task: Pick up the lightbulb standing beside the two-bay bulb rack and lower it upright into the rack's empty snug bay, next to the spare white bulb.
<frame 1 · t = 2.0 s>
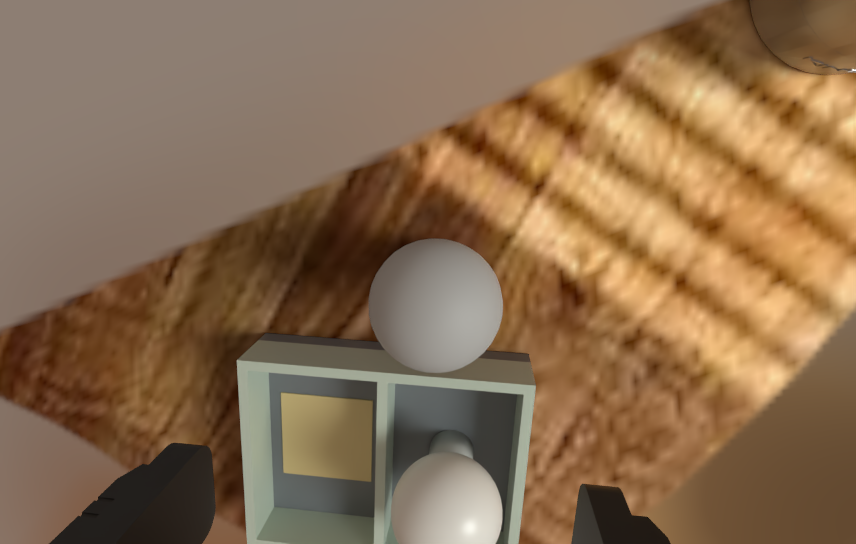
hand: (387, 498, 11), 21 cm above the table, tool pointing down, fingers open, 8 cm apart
bulb rack: (391, 432, 35), on the table
lightbulb: (446, 262, 31), on the table
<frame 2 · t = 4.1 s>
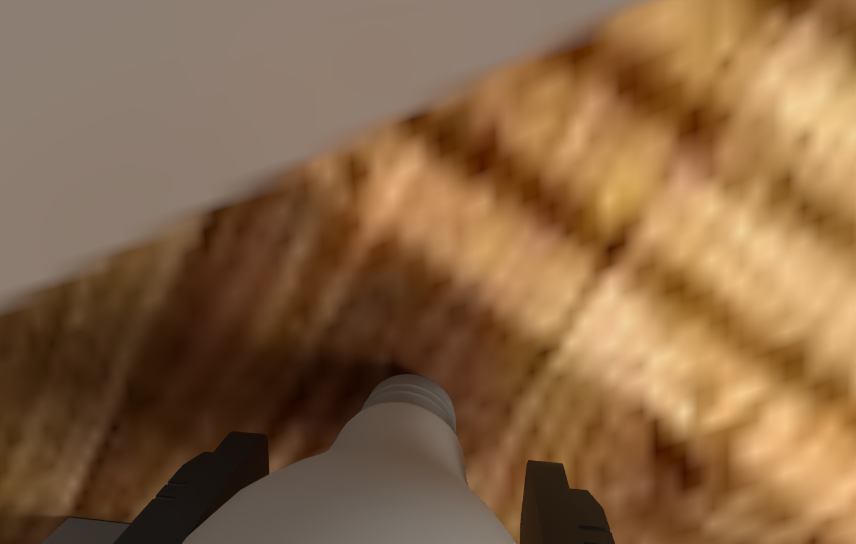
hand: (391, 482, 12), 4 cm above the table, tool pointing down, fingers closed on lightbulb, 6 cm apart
lightbulb: (414, 397, 15), on the table, touching gripper
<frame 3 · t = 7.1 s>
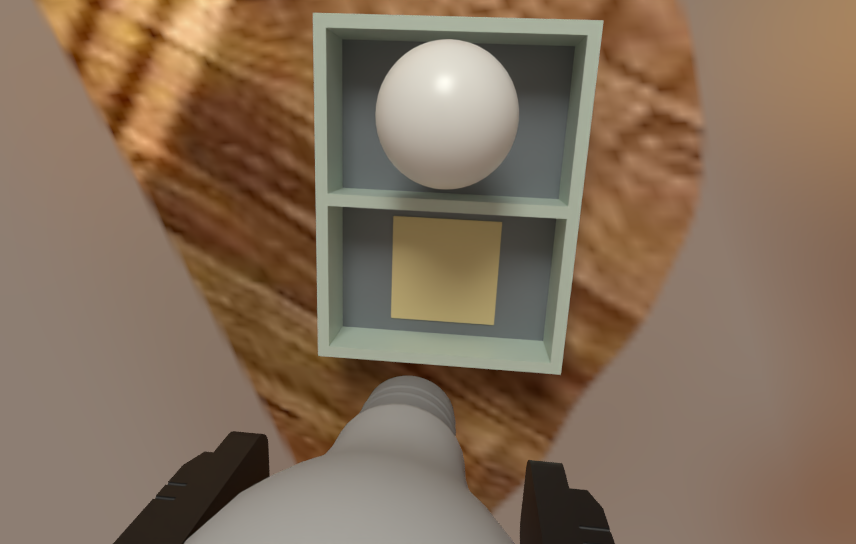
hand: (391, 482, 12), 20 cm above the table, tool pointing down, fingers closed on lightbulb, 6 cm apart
bulb rack: (449, 196, 29), on the table
lightbulb: (413, 398, 15), point 16 cm above the table, touching gripper
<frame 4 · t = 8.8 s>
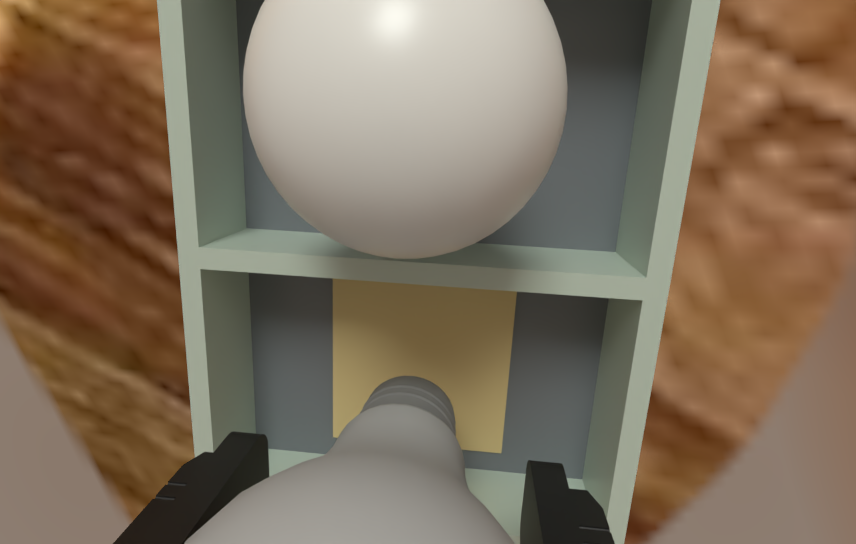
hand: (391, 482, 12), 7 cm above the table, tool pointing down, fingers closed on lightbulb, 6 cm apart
bulb rack: (428, 241, 18), on the table
lightbulb: (413, 398, 15), point 4 cm above the table, touching gripper
when the fingers open (5 cm above the table, at t = 10.0 s): lightbulb stays where it is, resting on bulb rack.
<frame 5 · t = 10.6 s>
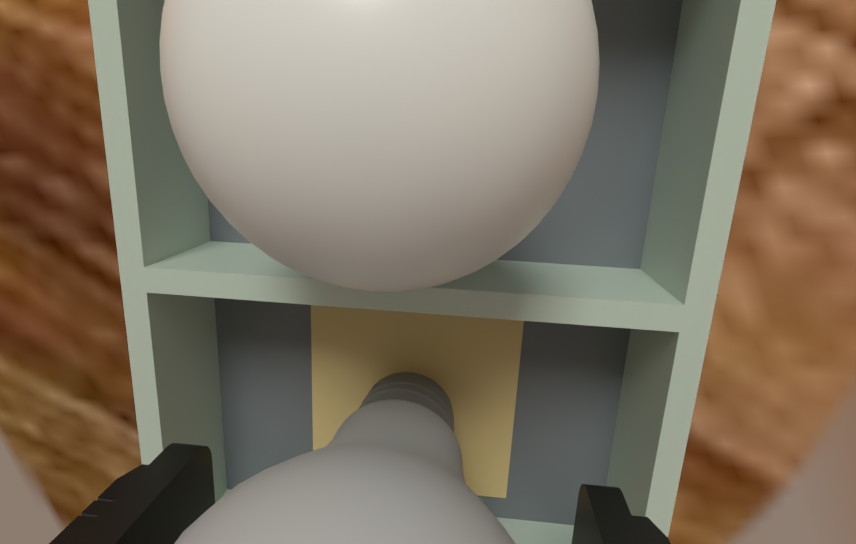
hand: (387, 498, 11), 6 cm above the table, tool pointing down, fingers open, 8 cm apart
bulb rack: (422, 255, 15), on the table
lightbulb: (412, 395, 15), point 1 cm above the table, touching bulb rack
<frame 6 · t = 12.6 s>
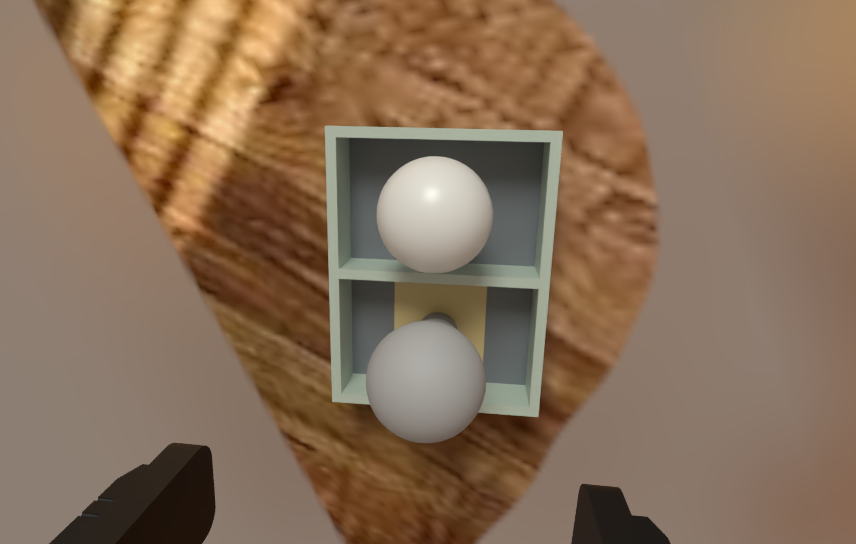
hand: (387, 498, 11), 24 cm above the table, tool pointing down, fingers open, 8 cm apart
bulb rack: (442, 262, 34), on the table
lightbulb: (439, 325, 34), point 1 cm above the table, touching bulb rack
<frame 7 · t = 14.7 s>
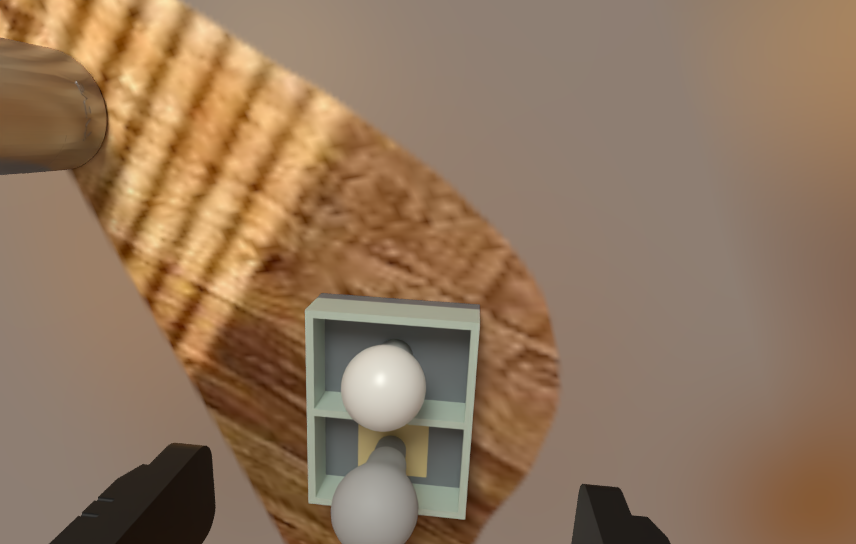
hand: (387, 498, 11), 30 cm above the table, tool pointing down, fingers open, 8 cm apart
bulb rack: (396, 393, 44), on the table
lightbulb: (393, 441, 44), point 1 cm above the table, touching bulb rack
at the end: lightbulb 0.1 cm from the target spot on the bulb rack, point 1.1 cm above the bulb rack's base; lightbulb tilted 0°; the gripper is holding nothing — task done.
